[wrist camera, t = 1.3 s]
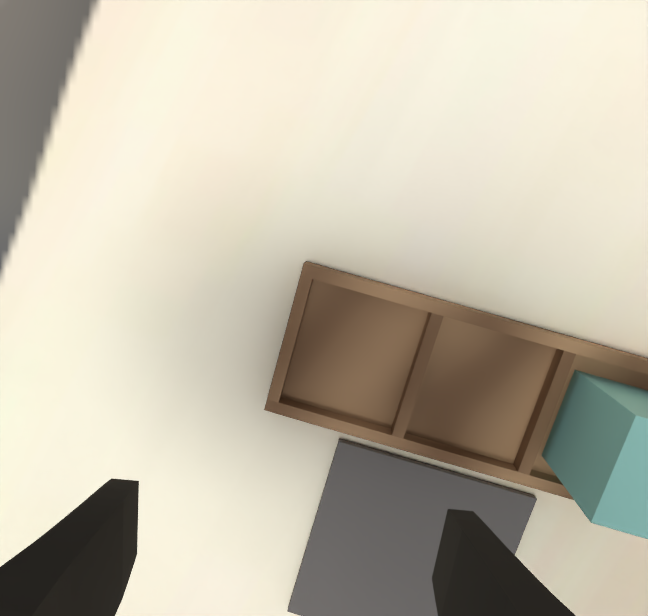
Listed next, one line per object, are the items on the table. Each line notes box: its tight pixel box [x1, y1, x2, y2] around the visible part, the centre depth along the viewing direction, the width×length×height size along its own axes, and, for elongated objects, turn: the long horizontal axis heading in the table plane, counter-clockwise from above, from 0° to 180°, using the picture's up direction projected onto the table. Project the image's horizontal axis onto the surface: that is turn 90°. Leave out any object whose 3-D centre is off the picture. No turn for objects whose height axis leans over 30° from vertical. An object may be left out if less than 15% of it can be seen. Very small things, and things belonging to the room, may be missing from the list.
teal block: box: [542, 370, 648, 539], centre depth 20 cm, size 4×4×5 cm
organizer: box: [264, 261, 648, 500], centre depth 22 cm, size 17×6×1 cm, turn 75°
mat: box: [288, 439, 536, 616], centre depth 24 cm, size 9×9×1 cm
